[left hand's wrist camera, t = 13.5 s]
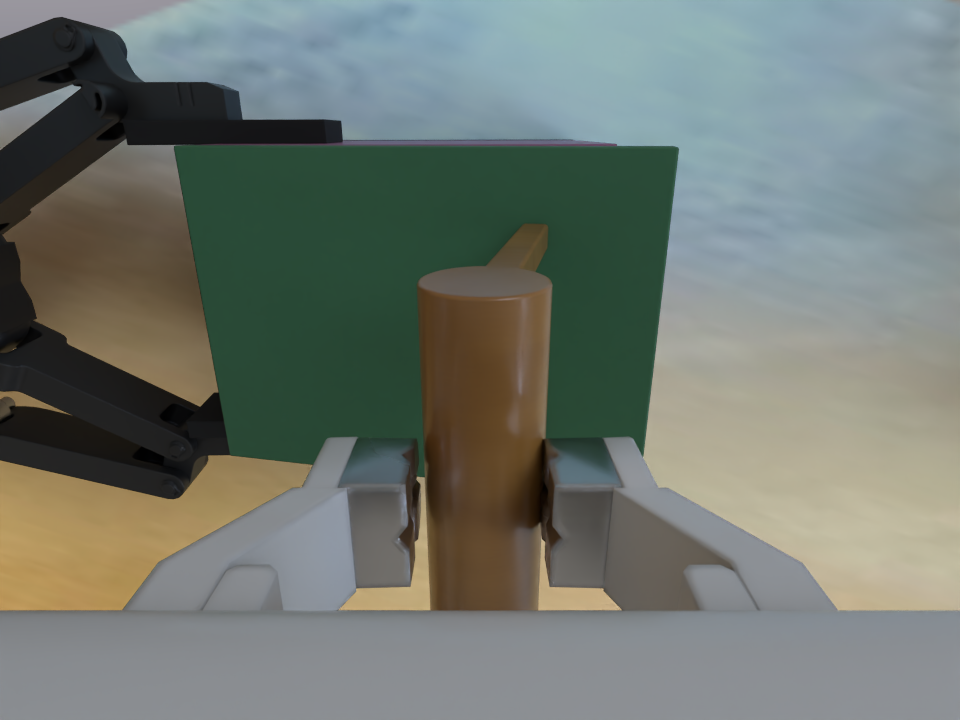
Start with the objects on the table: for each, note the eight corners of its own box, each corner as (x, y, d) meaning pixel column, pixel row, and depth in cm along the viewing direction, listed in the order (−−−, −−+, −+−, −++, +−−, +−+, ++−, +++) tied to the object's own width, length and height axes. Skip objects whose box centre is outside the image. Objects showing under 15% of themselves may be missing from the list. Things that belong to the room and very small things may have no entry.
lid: (675, 145, 15) (759, 164, 7) (636, 485, 19) (660, 764, 10) (193, 144, 18) (-173, 157, 9) (245, 442, 21) (16, 640, 13)
